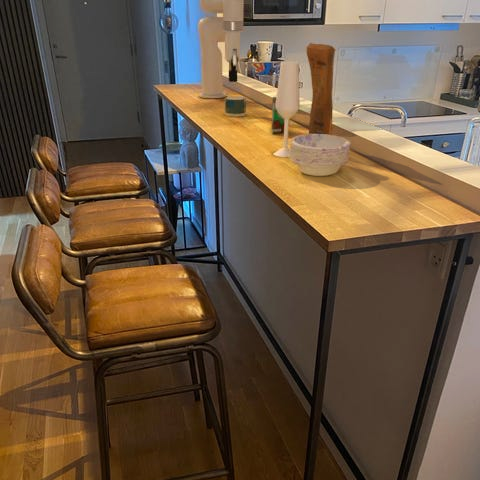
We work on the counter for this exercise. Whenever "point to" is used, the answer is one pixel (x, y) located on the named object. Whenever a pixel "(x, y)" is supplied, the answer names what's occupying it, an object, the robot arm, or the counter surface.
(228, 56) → the robot arm
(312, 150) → the paper bowls
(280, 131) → the food container
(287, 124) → the champagne flute
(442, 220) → the counter surface
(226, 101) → the teal cup
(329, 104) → the pancake mix bag
